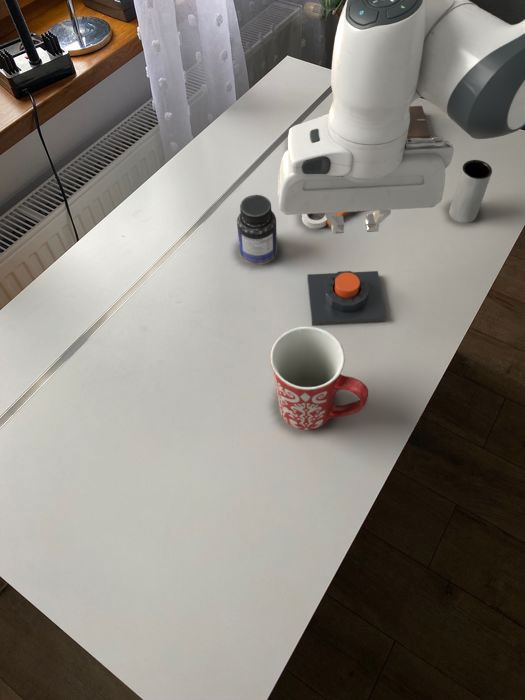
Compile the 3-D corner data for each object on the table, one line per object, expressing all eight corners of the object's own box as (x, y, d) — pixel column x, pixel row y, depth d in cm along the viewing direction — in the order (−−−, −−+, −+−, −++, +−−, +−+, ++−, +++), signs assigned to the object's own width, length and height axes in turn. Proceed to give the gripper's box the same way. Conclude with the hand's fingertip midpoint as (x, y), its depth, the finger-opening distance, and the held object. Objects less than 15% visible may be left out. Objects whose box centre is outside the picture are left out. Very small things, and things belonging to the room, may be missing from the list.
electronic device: (293, 210, 101) (354, 164, 106) (293, 222, 104) (353, 177, 109) (321, 230, 99) (383, 183, 103) (321, 243, 101) (381, 196, 106)
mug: (260, 420, 83) (256, 368, 71) (292, 371, 87) (292, 315, 75) (343, 462, 79) (352, 415, 67) (372, 409, 83) (385, 356, 72)
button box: (376, 280, 96) (379, 263, 92) (384, 325, 91) (388, 309, 87) (306, 283, 96) (307, 266, 92) (311, 329, 91) (312, 313, 87)
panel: (418, 117, 118) (421, 102, 115) (428, 151, 112) (431, 136, 110) (362, 120, 118) (364, 105, 115) (369, 154, 112) (371, 139, 110)
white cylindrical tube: (461, 230, 101) (477, 182, 92) (442, 215, 103) (456, 166, 94) (480, 219, 102) (498, 171, 93) (461, 204, 104) (477, 155, 96)
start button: (357, 279, 91) (358, 271, 90) (360, 298, 89) (361, 290, 88) (333, 280, 91) (334, 273, 90) (335, 299, 89) (336, 291, 88)
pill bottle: (248, 237, 102) (244, 187, 92) (282, 246, 100) (281, 196, 91) (234, 263, 98) (228, 213, 89) (269, 273, 97) (267, 223, 88)
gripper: (451, 119, 70) (428, 208, 81) (275, 128, 70) (277, 216, 82) (463, 155, 66) (437, 242, 78) (278, 164, 66) (279, 250, 78)
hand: (354, 229), depth 80 cm, fingers open, 3 cm apart
